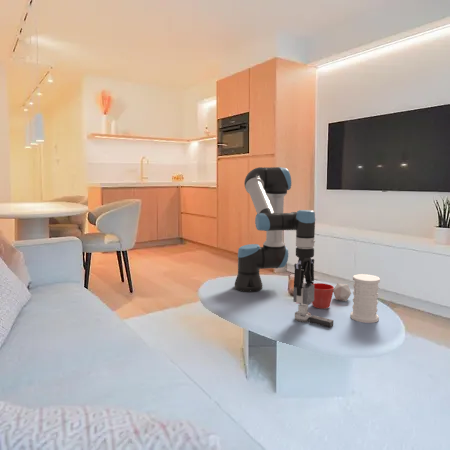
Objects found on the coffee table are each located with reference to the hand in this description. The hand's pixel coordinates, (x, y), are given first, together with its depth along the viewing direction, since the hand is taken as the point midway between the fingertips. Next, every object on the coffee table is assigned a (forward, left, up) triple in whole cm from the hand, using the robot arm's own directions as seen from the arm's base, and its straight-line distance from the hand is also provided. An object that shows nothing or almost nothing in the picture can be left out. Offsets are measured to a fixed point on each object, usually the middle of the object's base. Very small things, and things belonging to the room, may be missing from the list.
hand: (303, 300), depth 164 cm
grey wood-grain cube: (0, 0, 0) cm, 0 cm away
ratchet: (+5, 0, -8) cm, 10 cm away
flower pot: (-1, +20, -9) cm, 22 cm away
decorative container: (+20, +18, -9) cm, 28 cm away
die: (+3, +35, -9) cm, 36 cm away
